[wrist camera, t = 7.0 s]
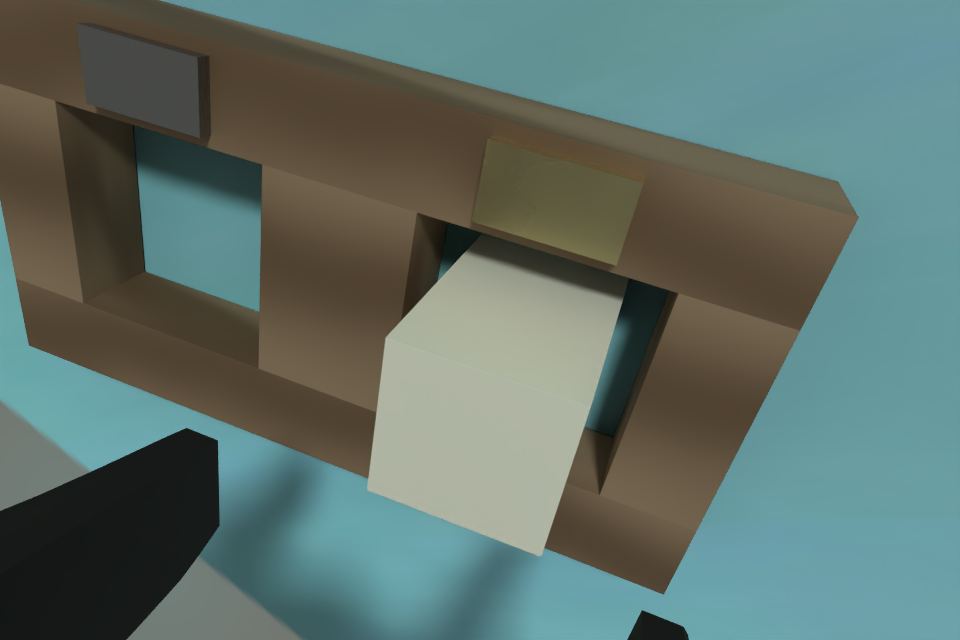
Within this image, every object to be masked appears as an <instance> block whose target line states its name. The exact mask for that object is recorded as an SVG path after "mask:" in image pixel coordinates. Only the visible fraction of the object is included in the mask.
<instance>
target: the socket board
mask: <svg viewBox="0 0 960 640" xmlns="http://www.w3.org/2000/svg"><path fill="white" fill-rule="evenodd" d="M78 23H94V24H98V25H102V26H105V27H109V28H112V29H116V30H119V31H123V32H127V33H130V34H134V35H137V36H141V37H144V38H148V39H152V40H155V41H159V42H162V43H166V44H169V45H173V46H177V47H180V48H184V49H187V50H191V51H194V52H198V53H202V54H205V55H209V65H210V110H211V135H208V136H205V137H202V138H198V137H194V136H191V135H188V134H185V133H181V132H178V131H175V130H172V129H168V128H165V127H162V126H159V125H155V124H152V123H149V122H145V121H142V120H139V119H136V118H132V117H129V116H126V115H123V114H119V113H116V112H113V111H110V110H106V109H103V108H100V107H97V106H93V105H90V104H87V103H86V97H85V89H84V80H83V72H82V63H81V55H80V46H79V38H78V29H77V24H78ZM133 125H135V126H139V127H142V128H145V129H148V130H151V131H155V132H158V133H161V134H164V135H168V136H171V137H174V138H177V139H181V140H184V141H187V142H190V143H194V144H197V145H200V146H203V147H207V148H210V149H213V150H216V151H219V152H223V153H226V154H229V155H232V156H236V157H239V158H242V159H245V160H249V161H252V162H255V163H258V164H262V205H261V260H260V312H257V311H254V310H252V309H249V308H246V307H243V306H240V305H237V304H235V303H232V302H229V301H226V300H223V299H221V298H218V297H215V296H212V295H209V294H206V293H204V292H201V291H198V290H195V289H192V288H189V287H187V286H184V285H181V284H178V283H175V282H173V281H170V280H167V279H164V278H161V277H158V276H156V275H153V274H150V273H147V272H145V268H144V256H143V243H142V231H141V219H140V207H139V195H138V183H137V171H136V159H135V147H134V135H133ZM493 135H495V136H498V137H502V138H505V139H509V140H513V141H516V142H520V143H523V144H527V145H530V146H534V147H538V148H541V149H545V150H548V151H552V152H555V153H559V154H563V155H566V156H570V157H573V158H577V159H580V160H584V161H588V162H591V163H595V164H598V165H602V166H605V167H609V168H613V169H616V170H620V171H623V172H627V173H630V174H634V175H638V176H641V177H645V181H644V184H643V187H642V190H641V193H640V196H639V199H638V202H637V205H636V208H635V211H634V214H633V217H632V220H631V223H630V226H629V230H628V233H627V236H626V239H625V242H624V245H623V248H622V251H621V254H620V257H619V260H618V263H617V265H616V266H615V265H612V264H609V263H605V262H602V261H599V260H596V259H592V258H589V257H586V256H583V255H579V254H576V253H573V252H570V251H566V250H563V249H560V248H557V247H553V246H550V245H547V244H543V243H540V242H537V241H534V240H530V239H527V238H524V237H521V236H517V235H514V234H511V233H508V232H504V231H501V230H498V229H495V228H491V227H488V226H485V225H481V224H478V223H475V222H472V217H473V212H474V207H475V202H476V197H477V192H478V187H479V182H480V176H481V171H482V166H483V161H484V156H485V151H486V146H487V140H488V139H489V138H490V137H492V136H493ZM0 201H1V206H2V211H3V216H4V221H5V226H6V231H7V236H8V241H9V246H10V251H11V256H12V262H13V267H14V272H15V277H16V282H17V287H18V292H19V297H20V302H21V307H22V312H23V317H24V323H25V328H26V333H27V338H28V343H29V346H32V347H34V348H37V349H40V350H42V351H45V352H47V353H50V354H52V355H55V356H57V357H60V358H62V359H65V360H68V361H70V362H73V363H75V364H78V365H80V366H83V367H85V368H88V369H90V370H93V371H96V372H98V373H101V374H103V375H106V376H108V377H111V378H113V379H116V380H118V381H121V382H124V383H126V384H129V385H131V386H134V387H136V388H139V389H141V390H144V391H147V392H149V393H152V394H154V395H157V396H159V397H162V398H164V399H167V400H169V401H172V402H175V403H177V404H180V405H182V406H185V407H187V408H190V409H192V410H195V411H197V412H200V413H203V414H205V415H208V416H210V417H213V418H215V419H218V420H220V421H223V422H225V423H228V424H231V425H233V426H236V427H238V428H241V429H243V430H246V431H248V432H251V433H253V434H256V435H259V436H261V437H264V438H266V439H269V440H271V441H274V442H276V443H279V444H282V445H284V446H287V447H289V448H292V449H294V450H297V451H299V452H302V453H304V454H307V455H310V456H312V457H315V458H317V459H320V460H322V461H325V462H327V463H330V464H332V465H335V466H338V467H340V468H343V469H345V470H348V471H350V472H353V473H355V474H358V475H360V476H363V477H366V478H369V470H370V462H371V453H372V445H373V437H374V429H375V421H376V412H377V404H378V396H379V388H380V380H381V371H382V363H383V355H384V347H385V339H386V337H387V336H388V335H389V333H390V332H391V331H392V330H393V329H394V328H395V327H396V326H397V325H398V324H399V323H400V322H401V321H402V319H403V318H404V317H405V316H406V315H407V314H408V313H409V312H410V311H411V310H412V309H413V308H414V307H415V305H416V304H417V303H418V302H419V301H420V300H421V299H422V298H423V297H424V296H425V295H426V294H427V293H428V291H429V290H430V289H431V288H432V287H433V286H434V285H435V284H436V283H437V281H438V275H439V269H440V263H441V258H442V252H443V246H444V241H445V235H446V229H447V223H448V222H449V223H453V224H456V225H459V226H462V227H466V228H469V229H472V230H475V231H479V232H482V233H485V234H488V235H491V236H495V237H498V238H501V239H504V240H508V241H511V242H514V243H517V244H521V245H524V246H527V247H530V248H534V249H537V250H540V251H543V252H547V253H550V254H553V255H556V256H559V257H563V258H566V259H569V260H572V261H576V262H579V263H582V264H585V265H589V266H592V267H595V268H598V269H602V270H605V271H608V272H611V273H615V274H618V275H621V276H624V277H627V278H631V279H634V280H637V281H640V282H644V283H647V284H650V285H653V286H657V287H660V288H663V289H666V290H669V292H668V295H667V298H666V300H665V303H664V306H663V308H662V311H661V313H660V316H659V319H658V321H657V324H656V327H655V329H654V332H653V334H652V337H651V340H650V342H649V345H648V347H647V350H646V353H645V355H644V358H643V361H642V363H641V366H640V368H639V371H638V374H637V376H636V379H635V381H634V384H633V387H632V389H631V392H630V395H629V397H628V400H627V402H626V405H625V408H624V410H623V413H622V415H621V418H620V421H619V423H618V426H617V429H616V431H615V434H614V436H613V437H610V436H607V435H604V434H601V433H598V432H596V431H593V430H590V429H587V428H584V429H583V432H582V435H581V438H580V441H579V444H578V447H577V450H576V453H575V456H574V459H573V462H572V465H571V468H570V471H569V474H568V477H567V480H566V483H565V487H564V490H563V493H562V496H561V499H560V502H559V505H558V508H557V511H556V514H555V517H554V520H553V523H552V526H551V529H550V532H549V535H548V538H547V541H546V544H545V547H544V548H546V549H549V550H552V551H554V552H557V553H559V554H562V555H564V556H567V557H569V558H572V559H574V560H577V561H580V562H582V563H585V564H587V565H590V566H592V567H595V568H597V569H600V570H602V571H605V572H608V573H610V574H613V575H615V576H618V577H620V578H623V579H625V580H628V581H631V582H633V583H636V584H638V585H641V586H643V587H646V588H648V589H651V590H653V591H656V592H659V593H661V594H664V593H665V591H666V589H667V587H668V585H669V583H670V581H671V579H672V577H673V576H674V574H675V572H676V570H677V568H678V566H679V564H680V562H681V560H682V558H683V556H684V554H685V552H686V550H687V548H688V547H689V545H690V543H691V541H692V539H693V537H694V535H695V533H696V531H697V529H698V527H699V525H700V523H701V521H702V519H703V518H704V516H705V514H706V512H707V510H708V508H709V506H710V504H711V502H712V500H713V498H714V496H715V494H716V492H717V490H718V489H719V487H720V485H721V483H722V481H723V479H724V477H725V475H726V473H727V471H728V469H729V467H730V465H731V463H732V461H733V460H734V458H735V456H736V454H737V452H738V450H739V448H740V446H741V444H742V442H743V440H744V438H745V436H746V434H747V432H748V431H749V429H750V427H751V425H752V423H753V421H754V419H755V417H756V415H757V413H758V411H759V409H760V407H761V405H762V403H763V402H764V400H765V398H766V396H767V394H768V392H769V390H770V388H771V386H772V384H773V382H774V380H775V378H776V376H777V374H778V373H779V371H780V369H781V367H782V365H783V363H784V361H785V359H786V357H787V355H788V353H789V351H790V349H791V347H792V345H793V343H794V342H795V340H796V338H797V336H798V334H799V332H800V330H801V328H802V326H803V324H804V322H805V320H806V318H807V316H808V314H809V313H810V311H811V309H812V307H813V305H814V303H815V301H816V299H817V297H818V295H819V293H820V291H821V289H822V287H823V285H824V284H825V282H826V280H827V278H828V276H829V274H830V272H831V270H832V268H833V266H834V264H835V262H836V260H837V258H838V256H839V255H840V253H841V251H842V249H843V247H844V245H845V243H846V241H847V239H848V237H849V235H850V233H851V231H852V229H853V227H854V226H855V224H856V222H857V220H858V218H859V217H858V216H857V214H856V212H855V210H854V209H853V207H852V205H851V203H850V202H849V200H848V198H847V196H846V195H845V193H844V191H843V189H842V188H841V186H840V184H839V182H837V181H833V180H830V179H826V178H822V177H818V176H815V175H811V174H807V173H803V172H800V171H796V170H792V169H788V168H785V167H781V166H777V165H773V164H770V163H766V162H762V161H758V160H755V159H751V158H747V157H743V156H740V155H736V154H732V153H728V152H725V151H721V150H717V149H713V148H710V147H706V146H702V145H698V144H695V143H691V142H687V141H683V140H680V139H676V138H672V137H668V136H665V135H661V134H657V133H653V132H650V131H646V130H642V129H638V128H635V127H631V126H627V125H623V124H620V123H616V122H612V121H608V120H605V119H601V118H597V117H593V116H590V115H586V114H582V113H578V112H575V111H571V110H567V109H563V108H560V107H556V106H552V105H548V104H545V103H541V102H537V101H533V100H530V99H526V98H522V97H518V96H515V95H511V94H507V93H503V92H500V91H496V90H492V89H488V88H485V87H481V86H477V85H473V84H470V83H466V82H462V81H458V80H455V79H451V78H447V77H443V76H440V75H436V74H432V73H428V72H425V71H421V70H417V69H413V68H410V67H406V66H402V65H398V64H395V63H391V62H387V61H384V60H380V59H376V58H372V57H369V56H365V55H361V54H357V53H354V52H350V51H346V50H342V49H339V48H335V47H331V46H327V45H324V44H320V43H316V42H312V41H309V40H305V39H301V38H297V37H294V36H290V35H286V34H282V33H279V32H275V31H271V30H267V29H264V28H260V27H256V26H252V25H249V24H245V23H241V22H237V21H234V20H230V19H226V18H222V17H219V16H215V15H211V14H207V13H204V12H200V11H196V10H192V9H189V8H185V7H181V6H177V5H174V4H170V3H166V2H162V1H159V0H0Z"/></svg>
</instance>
